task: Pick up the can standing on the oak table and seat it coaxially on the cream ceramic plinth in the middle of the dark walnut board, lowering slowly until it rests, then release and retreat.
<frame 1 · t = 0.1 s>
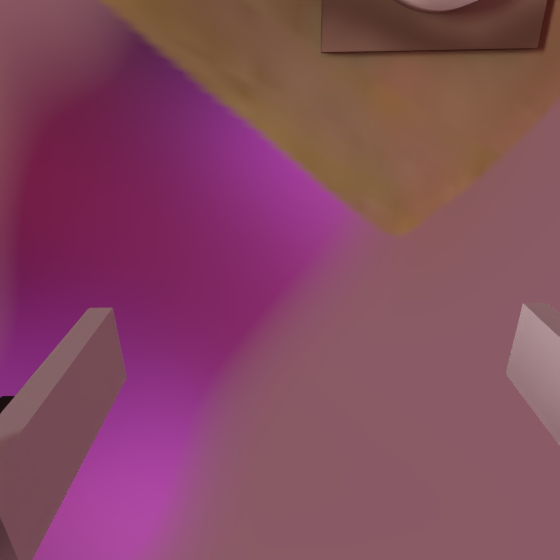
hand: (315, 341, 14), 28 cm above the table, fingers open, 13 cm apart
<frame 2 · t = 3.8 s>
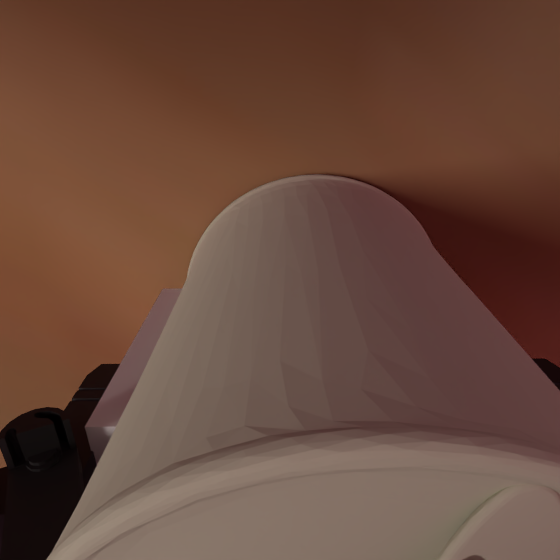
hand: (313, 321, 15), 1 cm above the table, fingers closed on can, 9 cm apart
can: (311, 296, 16), on the table, touching gripper
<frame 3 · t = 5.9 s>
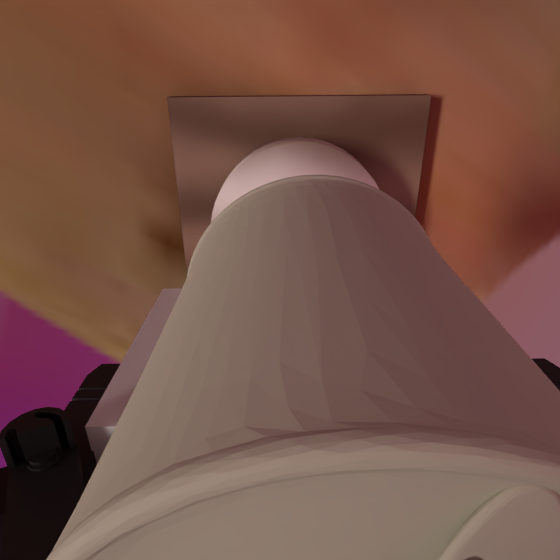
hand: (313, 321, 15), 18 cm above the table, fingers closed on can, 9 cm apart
stand: (297, 218, 33), on the table
can: (311, 296, 16), point 17 cm above the table, touching gripper
when the fingers open (6 cm above the table, at t = 8.1 s): can drops 1 cm, resting on stand.
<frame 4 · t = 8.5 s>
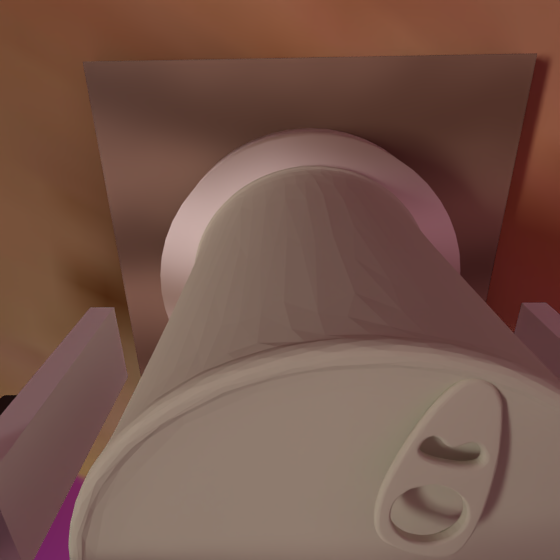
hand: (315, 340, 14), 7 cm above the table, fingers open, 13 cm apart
stand: (305, 258, 21), on the table
can: (310, 279, 18), point 3 cm above the table, touching stand
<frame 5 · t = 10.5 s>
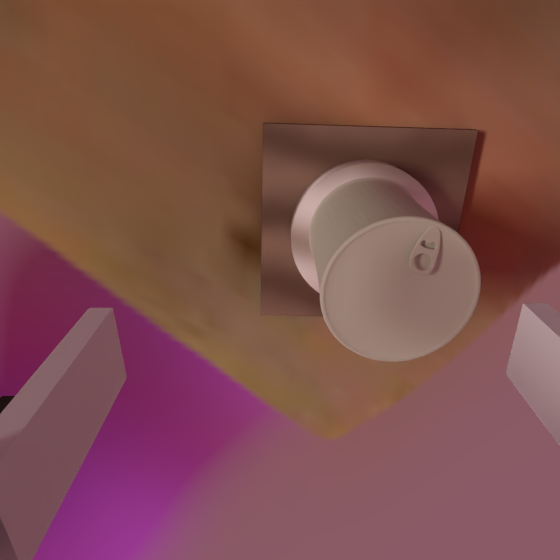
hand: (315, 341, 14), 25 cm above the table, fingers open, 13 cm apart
stand: (358, 227, 39), on the table
can: (365, 233, 36), point 3 cm above the table, touching stand
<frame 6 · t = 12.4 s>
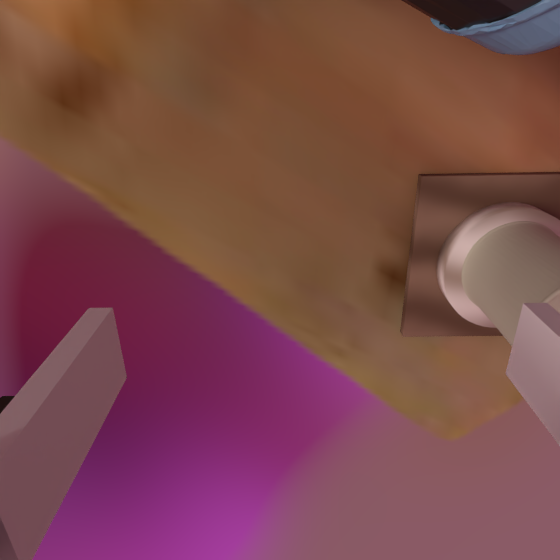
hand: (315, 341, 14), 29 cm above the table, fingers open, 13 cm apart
stand: (493, 258, 44), on the table
can: (510, 267, 41), point 3 cm above the table, touching stand
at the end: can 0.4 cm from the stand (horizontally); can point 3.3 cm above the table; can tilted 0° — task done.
